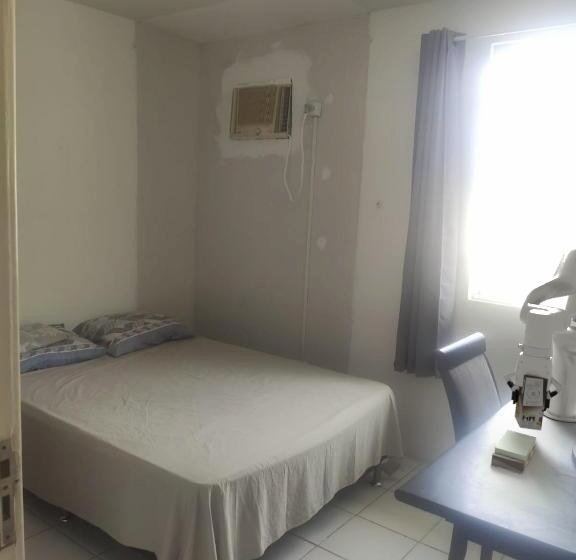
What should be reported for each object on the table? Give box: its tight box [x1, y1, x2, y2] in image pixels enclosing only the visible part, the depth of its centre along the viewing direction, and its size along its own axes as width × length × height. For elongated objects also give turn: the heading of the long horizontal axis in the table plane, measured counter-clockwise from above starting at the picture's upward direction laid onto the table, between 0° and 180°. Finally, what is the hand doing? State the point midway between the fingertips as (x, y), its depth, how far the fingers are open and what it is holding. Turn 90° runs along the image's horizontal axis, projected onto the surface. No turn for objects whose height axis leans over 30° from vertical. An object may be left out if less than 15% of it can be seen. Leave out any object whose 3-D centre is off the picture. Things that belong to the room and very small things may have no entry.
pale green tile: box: [493, 429, 537, 461], centre depth 160 cm, size 16×8×2 cm, turn 147°
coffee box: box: [514, 375, 548, 431], centre depth 171 cm, size 9×6×16 cm
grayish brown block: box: [490, 443, 536, 475], centre depth 159 cm, size 18×8×3 cm, turn 147°
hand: (529, 406), depth 172 cm, fingers closed on coffee box, 8 cm apart
